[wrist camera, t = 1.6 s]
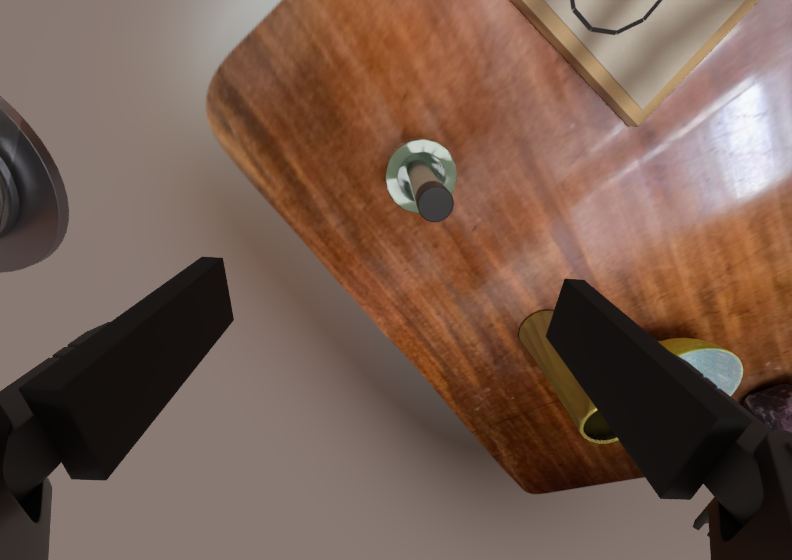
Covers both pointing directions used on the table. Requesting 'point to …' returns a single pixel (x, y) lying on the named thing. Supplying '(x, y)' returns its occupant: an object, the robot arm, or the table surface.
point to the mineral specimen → (772, 407)
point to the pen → (429, 192)
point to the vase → (563, 379)
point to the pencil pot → (426, 152)
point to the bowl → (709, 361)
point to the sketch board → (634, 43)
